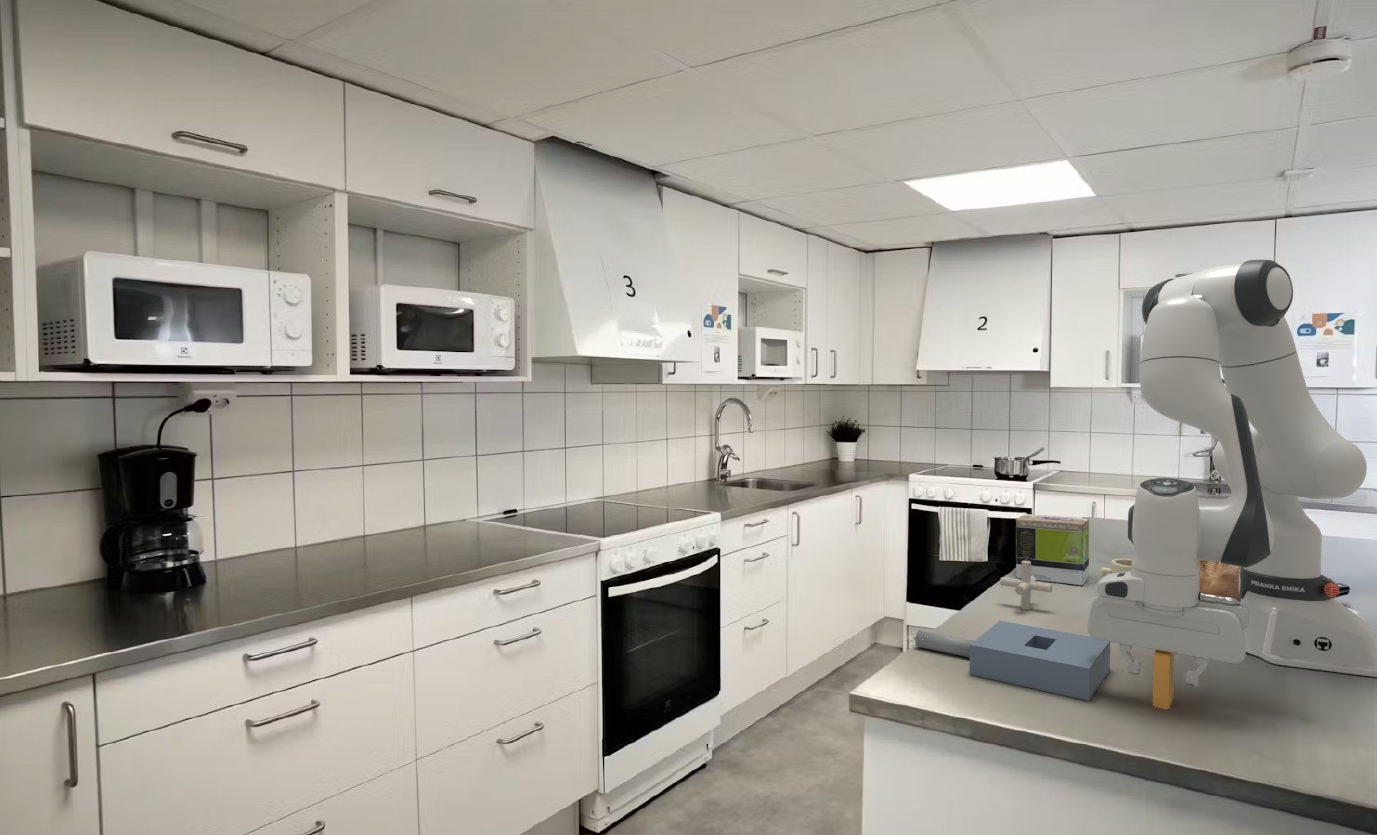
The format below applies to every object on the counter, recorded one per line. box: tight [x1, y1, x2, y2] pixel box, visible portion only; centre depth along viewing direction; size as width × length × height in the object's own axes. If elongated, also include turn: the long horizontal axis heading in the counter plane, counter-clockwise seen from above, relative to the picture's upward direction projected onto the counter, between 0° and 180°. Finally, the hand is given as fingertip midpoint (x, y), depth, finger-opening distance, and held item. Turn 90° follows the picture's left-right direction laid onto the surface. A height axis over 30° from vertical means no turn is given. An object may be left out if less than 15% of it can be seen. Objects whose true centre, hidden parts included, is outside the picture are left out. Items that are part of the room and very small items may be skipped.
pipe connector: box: [999, 561, 1053, 611], centre depth 167 cm, size 10×10×10 cm
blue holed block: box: [914, 620, 1111, 701], centre depth 136 cm, size 30×16×5 cm, turn 52°
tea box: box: [1015, 513, 1090, 586], centre depth 192 cm, size 15×10×15 cm, turn 56°
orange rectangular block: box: [1152, 650, 1175, 710], centre depth 119 cm, size 5×2×8 cm, turn 142°
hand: (1162, 678), depth 119 cm, fingers open, 6 cm apart
